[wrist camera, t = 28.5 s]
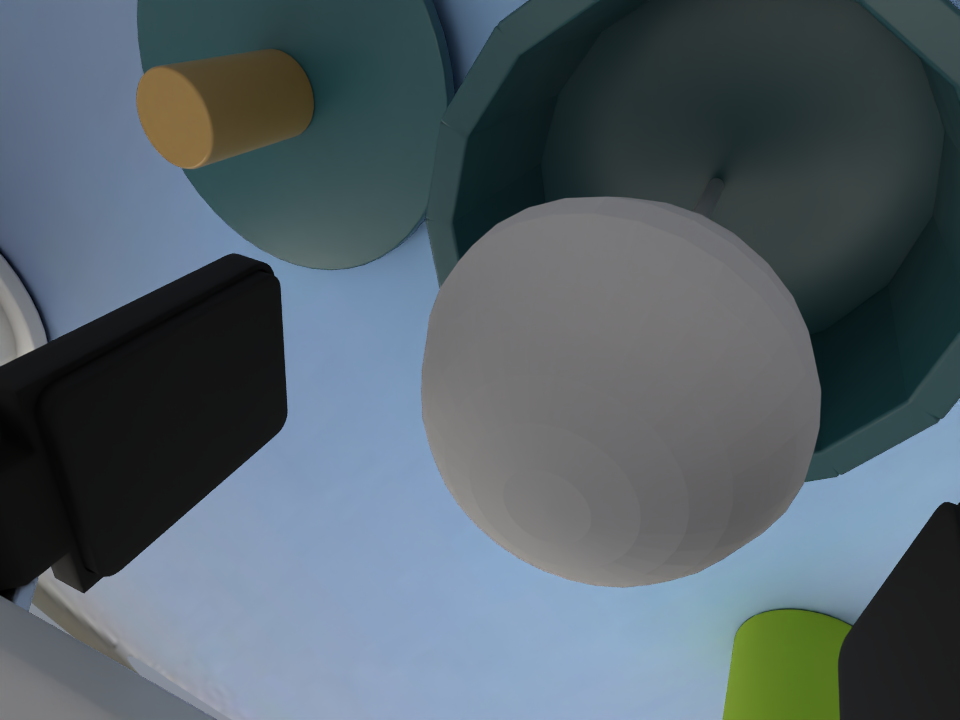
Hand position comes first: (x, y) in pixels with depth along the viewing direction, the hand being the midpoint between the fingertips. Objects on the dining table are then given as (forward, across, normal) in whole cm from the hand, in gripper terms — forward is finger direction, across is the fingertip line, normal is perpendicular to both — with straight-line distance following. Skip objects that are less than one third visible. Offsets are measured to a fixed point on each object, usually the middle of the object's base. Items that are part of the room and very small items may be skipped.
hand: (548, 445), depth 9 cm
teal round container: (+14, -1, 0) cm, 14 cm away
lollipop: (+14, -1, 0) cm, 14 cm away
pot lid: (+14, +15, 0) cm, 20 cm away
